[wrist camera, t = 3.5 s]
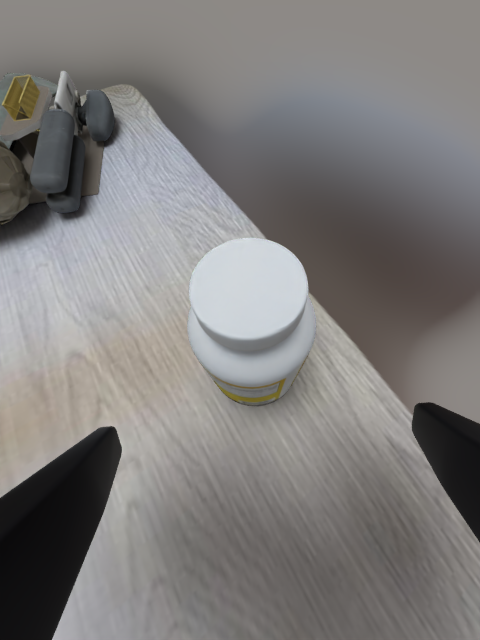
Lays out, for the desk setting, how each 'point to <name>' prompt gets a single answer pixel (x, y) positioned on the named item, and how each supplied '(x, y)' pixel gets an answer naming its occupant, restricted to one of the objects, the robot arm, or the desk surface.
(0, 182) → the multicoloured piece
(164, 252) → the desk surface
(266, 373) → the pill bottle
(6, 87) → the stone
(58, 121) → the can opener
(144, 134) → the desk surface
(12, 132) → the platform
